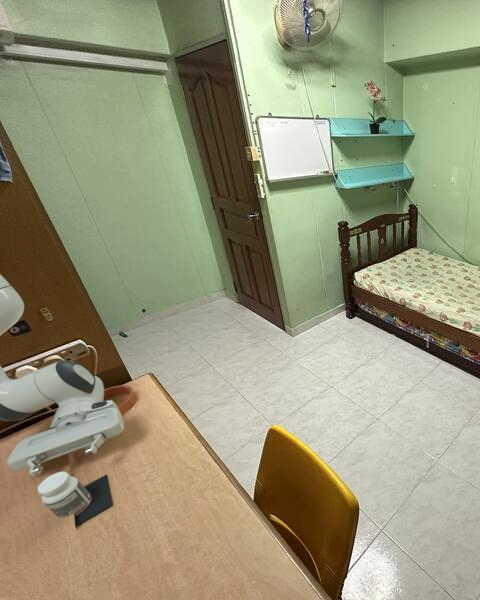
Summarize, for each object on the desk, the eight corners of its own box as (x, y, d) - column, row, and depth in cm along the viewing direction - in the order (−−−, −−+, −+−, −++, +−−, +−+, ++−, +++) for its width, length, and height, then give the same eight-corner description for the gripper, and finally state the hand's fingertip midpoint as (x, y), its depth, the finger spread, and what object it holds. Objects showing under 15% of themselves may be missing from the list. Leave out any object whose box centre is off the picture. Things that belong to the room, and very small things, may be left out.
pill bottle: (68, 498, 73) (45, 472, 68) (97, 491, 74) (77, 465, 70) (52, 524, 68) (26, 498, 63) (84, 516, 70) (61, 490, 65)
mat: (39, 548, 65) (37, 547, 64) (38, 512, 71) (37, 511, 70) (112, 505, 72) (112, 504, 72) (107, 475, 78) (106, 474, 78)
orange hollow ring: (86, 431, 89) (81, 424, 88) (82, 406, 97) (77, 399, 96) (140, 407, 97) (136, 400, 96) (132, 386, 105) (129, 379, 103)
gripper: (12, 431, 76) (-11, 479, 66) (119, 397, 86) (113, 434, 76) (27, 448, 79) (7, 496, 69) (128, 413, 89) (124, 450, 79)
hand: (63, 463), depth 72 cm, fingers open, 8 cm apart
